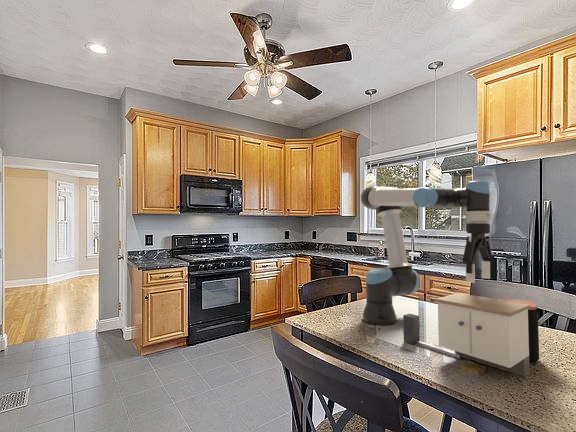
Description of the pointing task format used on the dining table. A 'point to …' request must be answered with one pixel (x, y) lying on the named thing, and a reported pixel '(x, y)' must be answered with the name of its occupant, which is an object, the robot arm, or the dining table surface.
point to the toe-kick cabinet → (485, 330)
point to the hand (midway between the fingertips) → (478, 280)
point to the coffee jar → (531, 330)
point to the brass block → (472, 367)
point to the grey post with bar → (413, 337)
